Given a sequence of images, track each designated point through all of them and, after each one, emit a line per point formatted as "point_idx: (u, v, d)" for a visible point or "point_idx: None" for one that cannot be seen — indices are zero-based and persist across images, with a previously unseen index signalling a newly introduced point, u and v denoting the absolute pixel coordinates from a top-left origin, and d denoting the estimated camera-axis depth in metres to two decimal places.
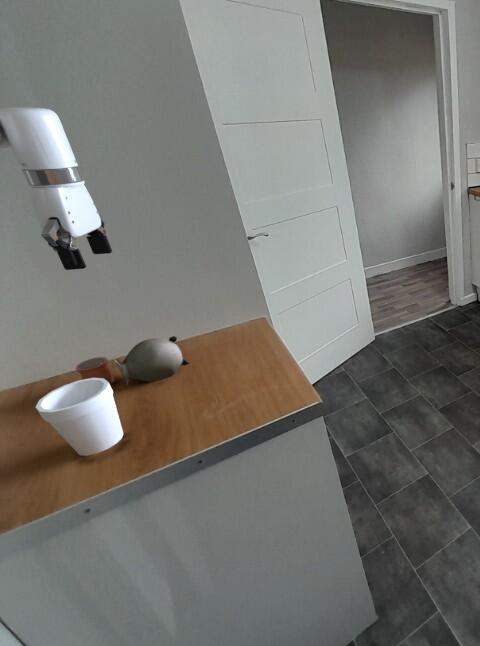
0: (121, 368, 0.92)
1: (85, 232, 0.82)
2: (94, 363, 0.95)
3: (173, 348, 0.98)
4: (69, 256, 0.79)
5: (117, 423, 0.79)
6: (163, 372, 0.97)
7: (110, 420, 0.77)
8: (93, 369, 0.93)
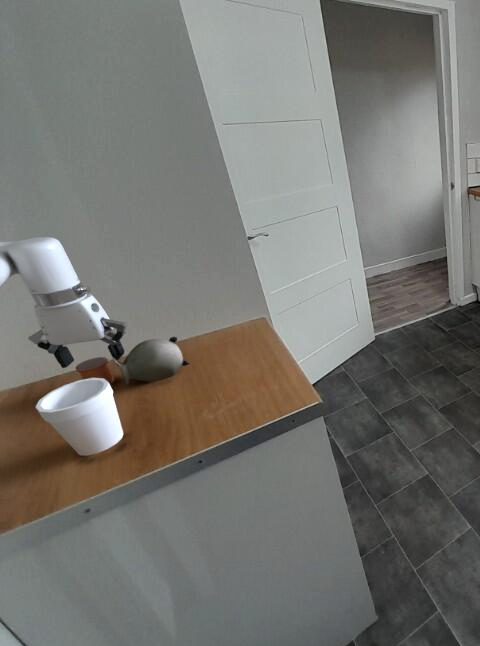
0: (122, 369, 0.92)
1: (67, 342, 0.90)
2: (94, 363, 0.95)
3: (174, 348, 0.98)
4: None
5: (117, 423, 0.79)
6: (163, 372, 0.97)
7: (110, 420, 0.77)
8: (93, 369, 0.93)
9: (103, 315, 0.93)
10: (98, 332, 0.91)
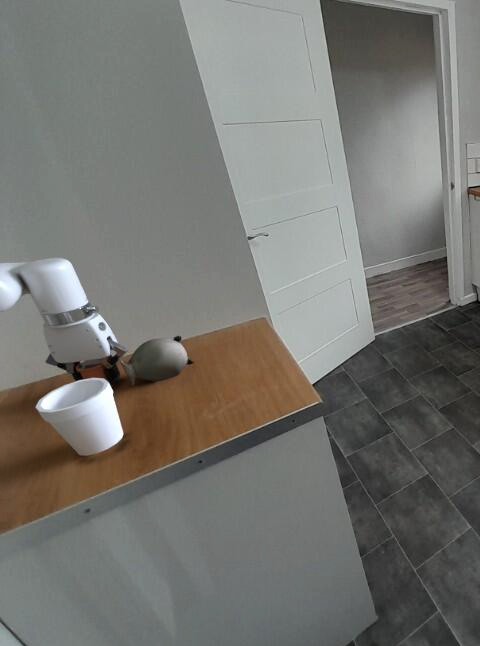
0: (127, 368, 0.92)
1: (73, 361, 0.92)
2: (94, 363, 0.95)
3: (179, 347, 0.98)
4: None
5: (117, 423, 0.79)
6: (169, 371, 0.97)
7: (110, 420, 0.77)
8: (93, 369, 0.93)
9: (109, 334, 0.94)
10: (104, 351, 0.93)
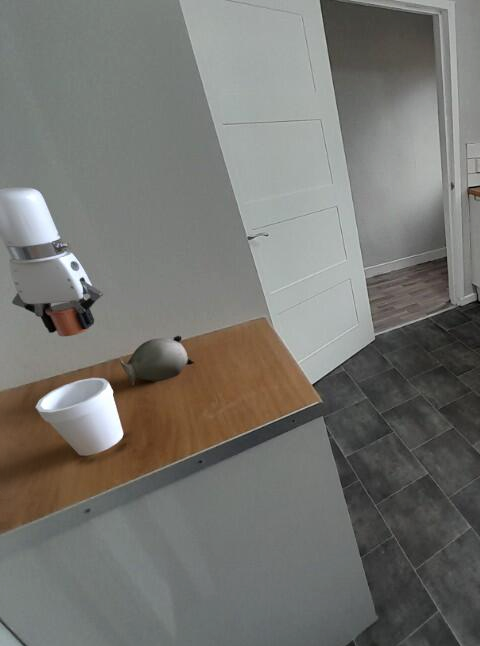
0: (127, 368, 0.92)
1: (42, 302, 0.85)
2: (66, 307, 0.88)
3: (179, 347, 0.98)
4: None
5: (117, 423, 0.79)
6: (169, 371, 0.97)
7: (110, 420, 0.77)
8: (64, 312, 0.87)
9: (83, 275, 0.88)
10: (76, 292, 0.87)
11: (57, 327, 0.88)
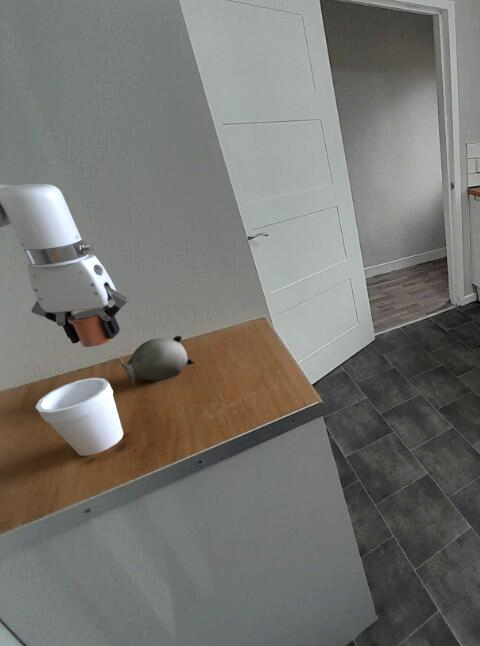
0: (127, 368, 0.92)
1: (64, 310, 0.78)
2: (89, 314, 0.81)
3: (179, 347, 0.98)
4: None
5: (117, 423, 0.79)
6: (169, 371, 0.97)
7: (110, 420, 0.77)
8: (88, 320, 0.79)
9: (107, 280, 0.80)
10: (101, 298, 0.79)
11: (80, 337, 0.80)
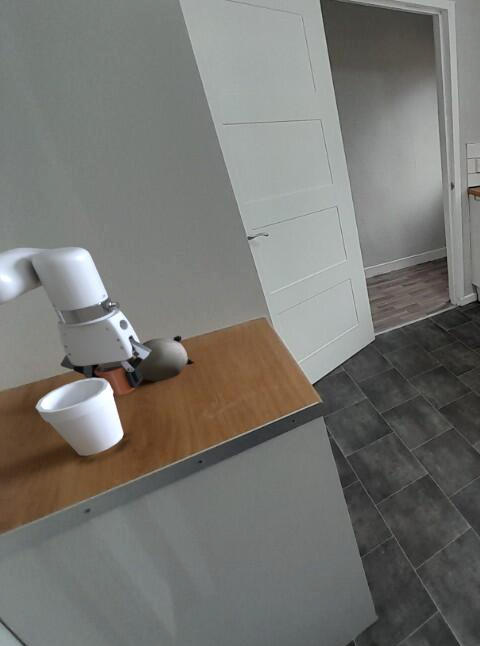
0: None
1: (91, 363, 0.81)
2: (114, 366, 0.85)
3: (179, 347, 0.98)
4: None
5: (117, 423, 0.79)
6: (169, 371, 0.97)
7: (110, 420, 0.77)
8: (114, 372, 0.83)
9: (131, 333, 0.84)
10: (126, 352, 0.83)
11: None
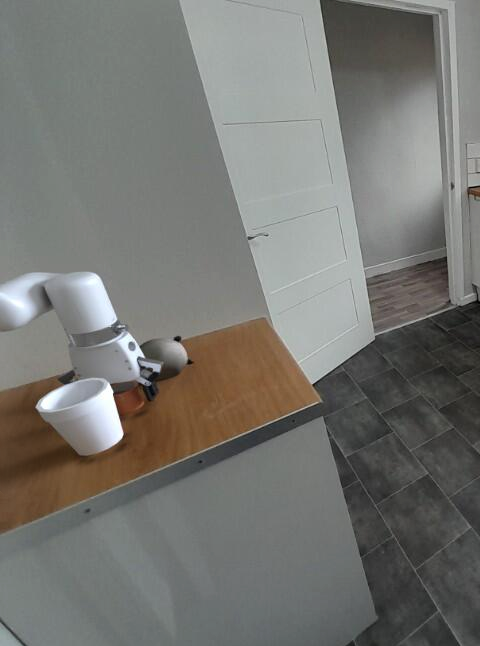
0: None
1: None
2: (124, 388, 0.87)
3: (179, 347, 0.98)
4: None
5: (117, 423, 0.79)
6: (169, 371, 0.97)
7: (110, 420, 0.77)
8: (123, 395, 0.85)
9: (139, 354, 0.86)
10: (134, 373, 0.85)
11: None
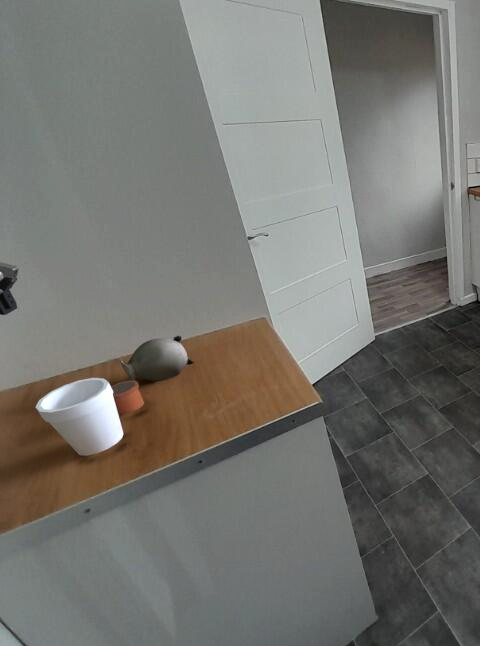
0: (127, 368, 0.92)
1: None
2: (124, 388, 0.87)
3: (179, 347, 0.98)
4: None
5: (117, 423, 0.79)
6: (169, 371, 0.97)
7: (110, 420, 0.77)
8: (123, 395, 0.85)
9: None
10: None
11: None
